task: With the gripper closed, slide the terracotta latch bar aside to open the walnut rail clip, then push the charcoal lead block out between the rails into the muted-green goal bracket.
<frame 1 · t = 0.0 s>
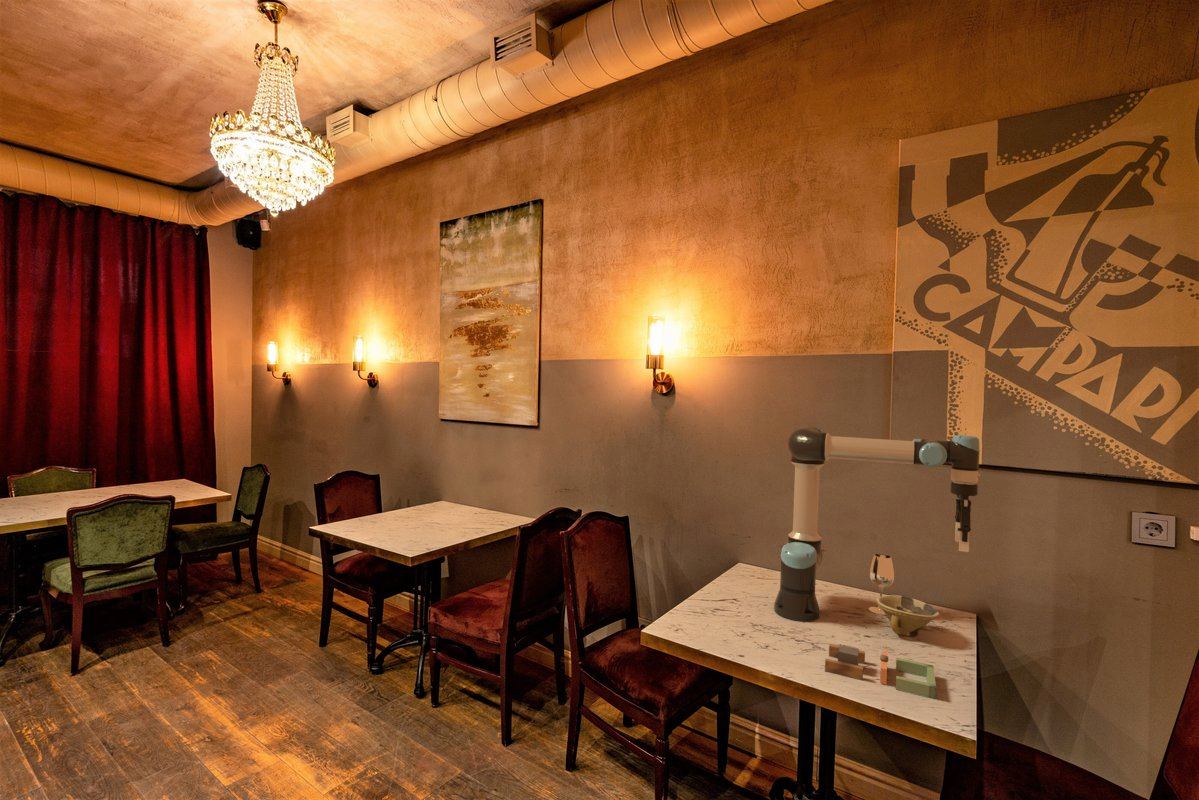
hand: (961, 546, 188), 28 cm above the table, fingers open, 13 cm apart
goal bracket: (914, 682, 153), on the table
wineglass: (880, 611, 204), on the table
clip rails: (845, 666, 161), on the table
lead block: (848, 667, 161), on the table
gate: (884, 665, 157), point 3 cm above the table, slide at 0.0 cm
bowl: (906, 633, 186), on the table
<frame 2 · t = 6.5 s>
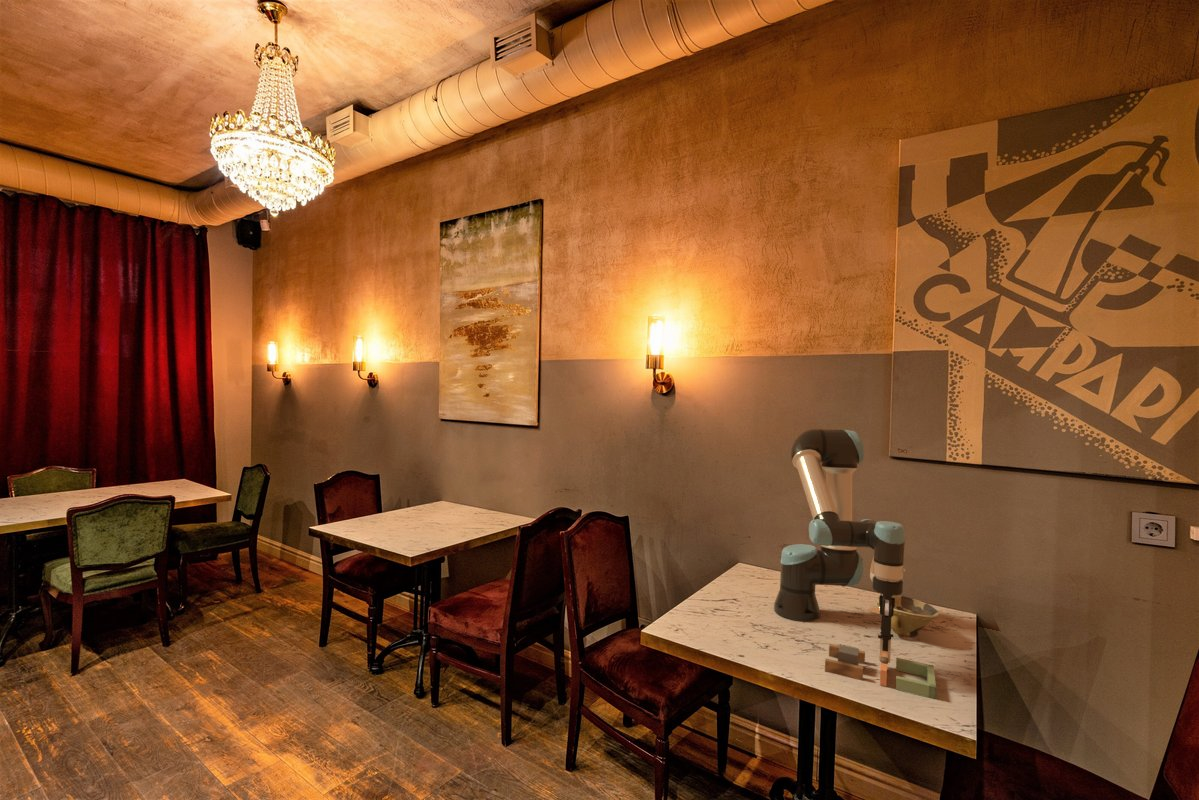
hand: (884, 660, 161), 2 cm above the table, fingers closed
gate: (883, 667, 156), point 3 cm above the table, slide at 1.1 cm, touching gripper
everything else where it was.
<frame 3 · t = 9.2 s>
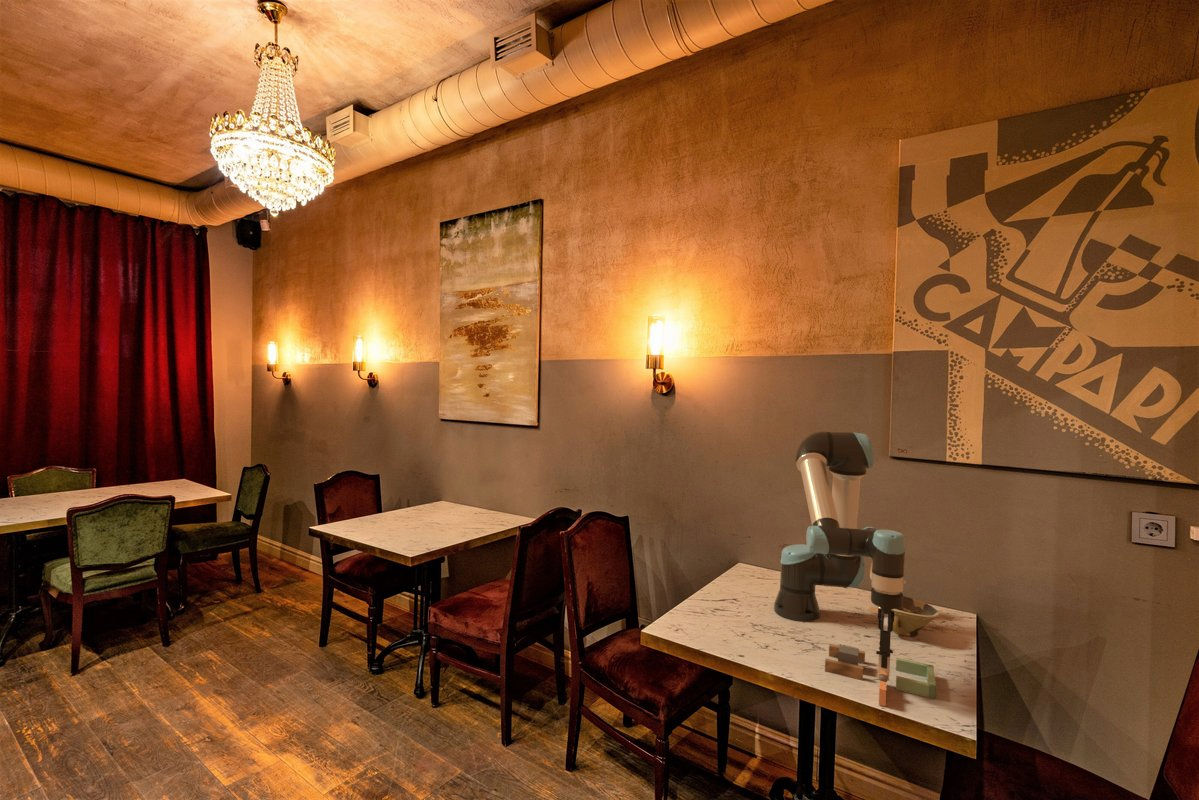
hand: (883, 678, 151), 2 cm above the table, fingers closed
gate: (883, 685, 146), point 3 cm above the table, slide at 12.2 cm, touching gripper
everything else where it was.
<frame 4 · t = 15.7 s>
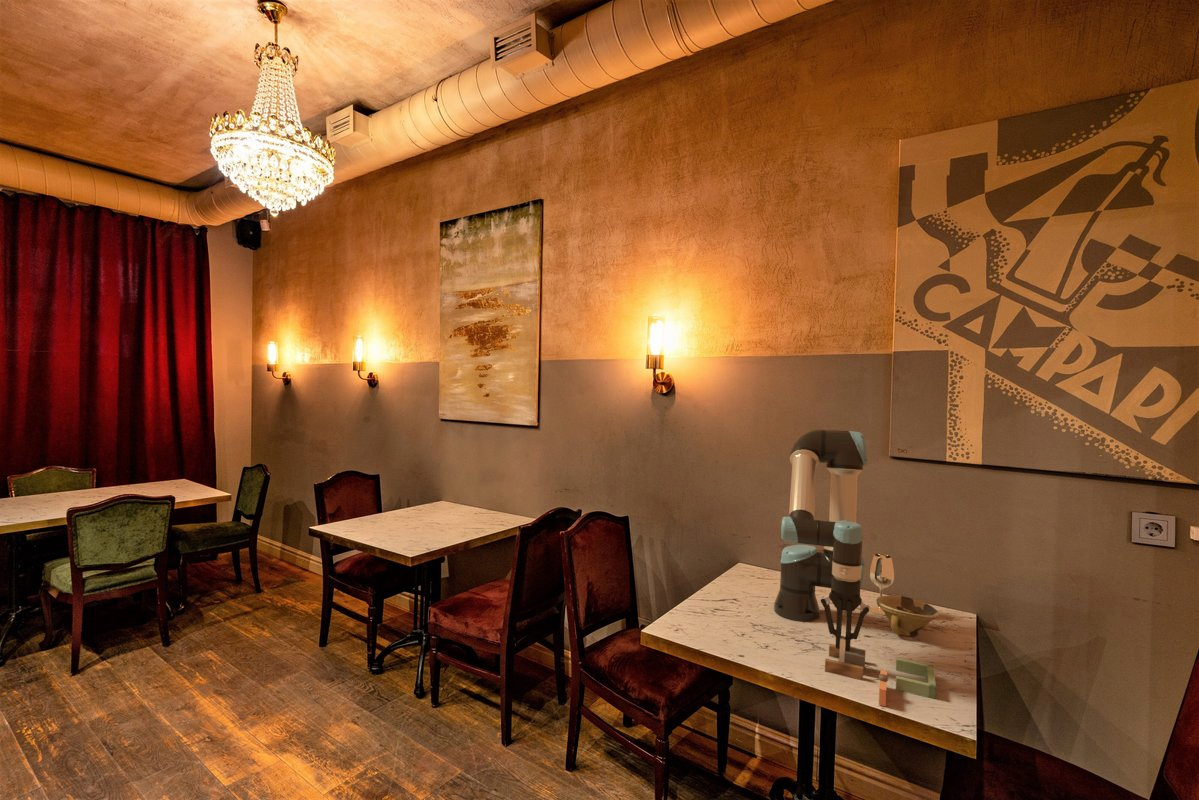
hand: (842, 660, 161), 2 cm above the table, fingers closed
lead block: (854, 669, 160), on the table, touching gripper
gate: (883, 685, 146), point 3 cm above the table, slide at 12.2 cm
everything else where it was.
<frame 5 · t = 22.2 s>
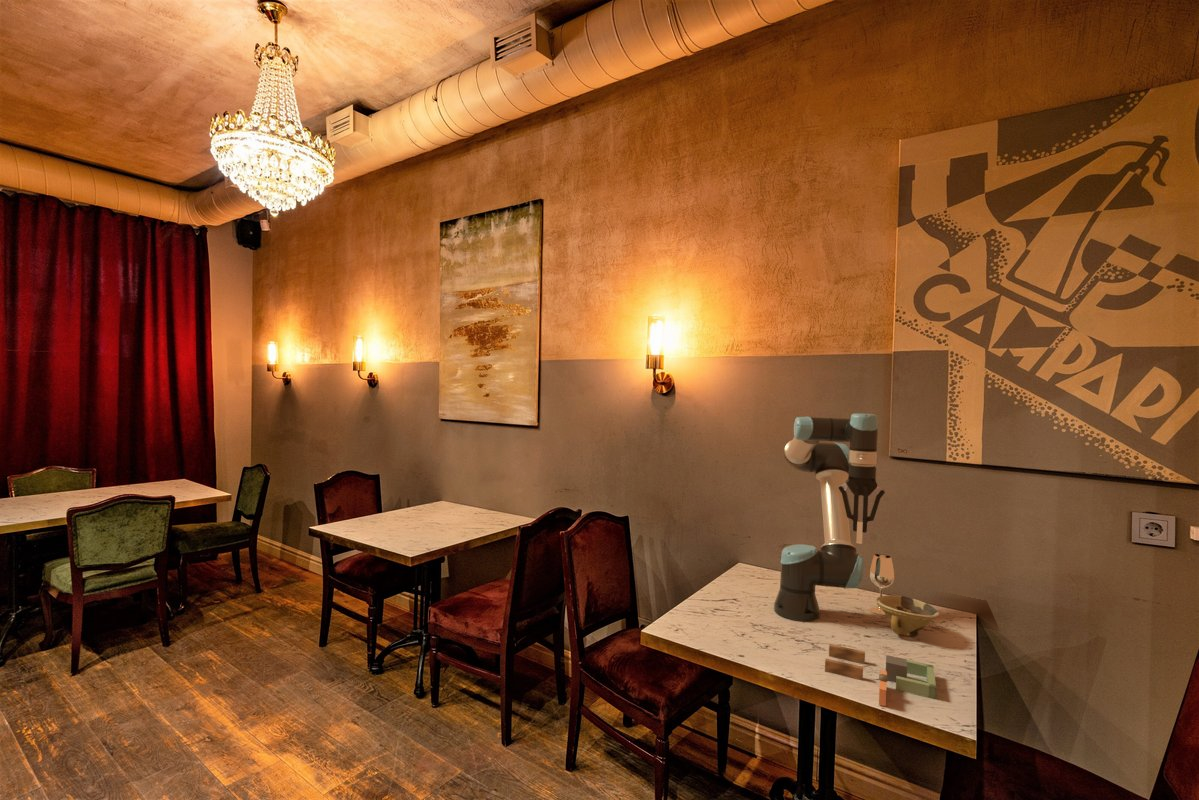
hand: (859, 542, 172), 32 cm above the table, fingers closed
lead block: (895, 678, 155), on the table
everything else where it was.
at the end: lead block inside the target area (3.0 cm from its centre), on the table; lead block tilted 0°; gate slide at 12.2 cm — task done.
